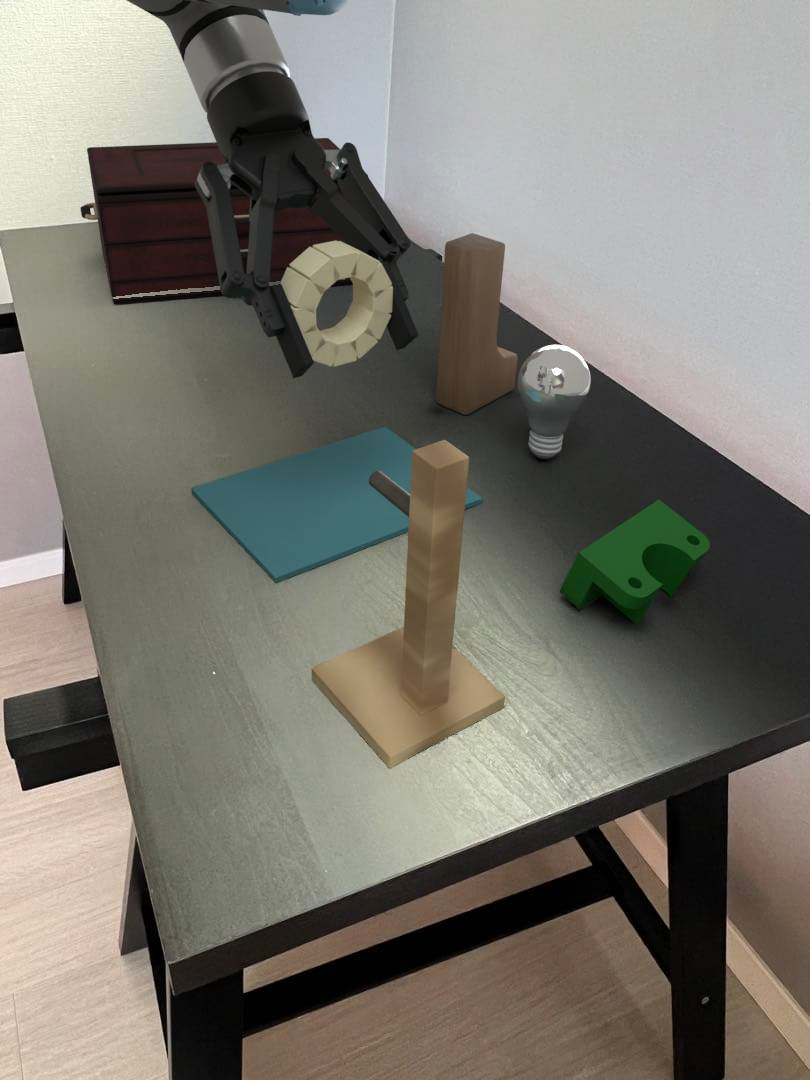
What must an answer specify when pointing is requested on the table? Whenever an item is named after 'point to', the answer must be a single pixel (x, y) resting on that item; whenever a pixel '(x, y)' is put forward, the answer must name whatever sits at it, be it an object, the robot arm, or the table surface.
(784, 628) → the table surface
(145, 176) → the storage box
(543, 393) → the light bulb
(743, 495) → the table surface
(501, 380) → the wooden block
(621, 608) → the clamp
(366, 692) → the hook stand
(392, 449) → the mat
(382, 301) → the segmented ring
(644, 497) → the table surface
